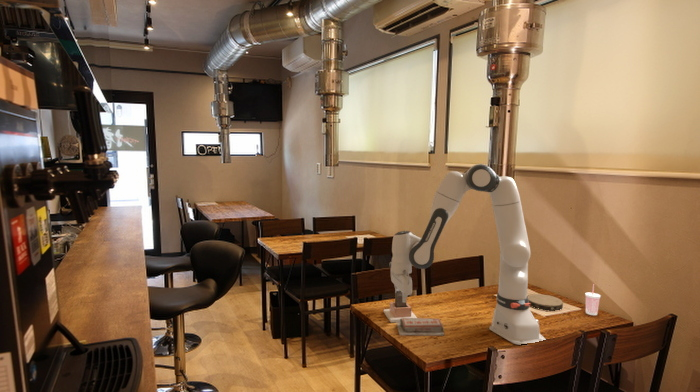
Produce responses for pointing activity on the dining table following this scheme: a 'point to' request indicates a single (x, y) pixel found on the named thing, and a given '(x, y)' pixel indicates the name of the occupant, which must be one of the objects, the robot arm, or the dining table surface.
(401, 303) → the peg
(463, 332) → the dining table surface
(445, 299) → the dining table surface
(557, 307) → the grey round disc
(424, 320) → the packaged product
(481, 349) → the dining table surface
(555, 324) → the dining table surface
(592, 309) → the beverage cup
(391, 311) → the square socket base
